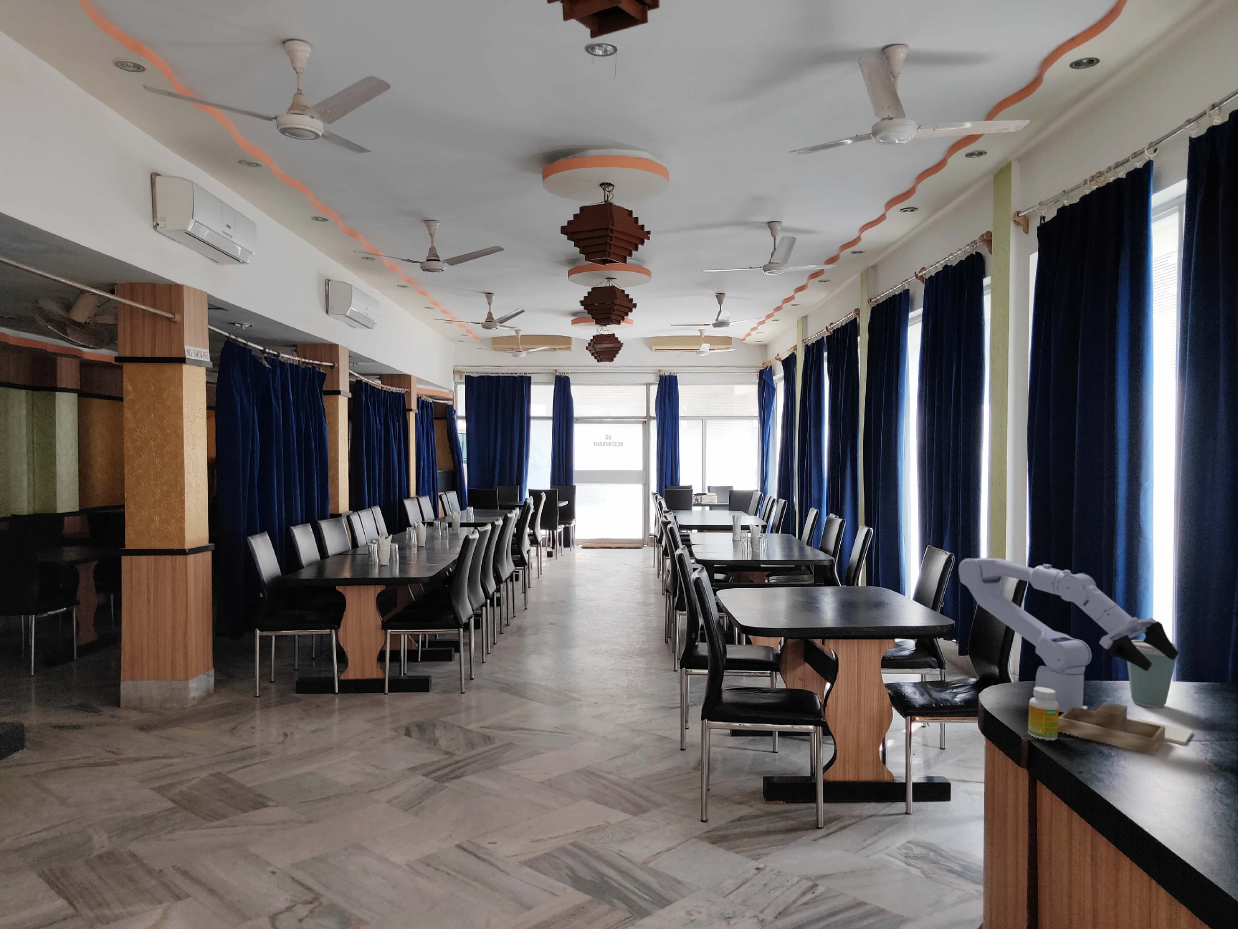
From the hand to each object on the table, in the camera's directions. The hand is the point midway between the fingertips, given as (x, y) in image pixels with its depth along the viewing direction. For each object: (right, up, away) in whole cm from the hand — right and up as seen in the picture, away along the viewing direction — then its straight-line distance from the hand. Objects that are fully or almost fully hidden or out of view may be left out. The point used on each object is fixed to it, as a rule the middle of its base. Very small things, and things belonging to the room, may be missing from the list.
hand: (1162, 662), depth 168 cm
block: (-10, -16, +1) cm, 19 cm away
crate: (-10, -16, +1) cm, 19 cm away
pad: (+2, -16, +4) cm, 17 cm away
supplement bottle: (-25, -15, 0) cm, 29 cm away
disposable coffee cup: (+13, -16, +24) cm, 32 cm away
